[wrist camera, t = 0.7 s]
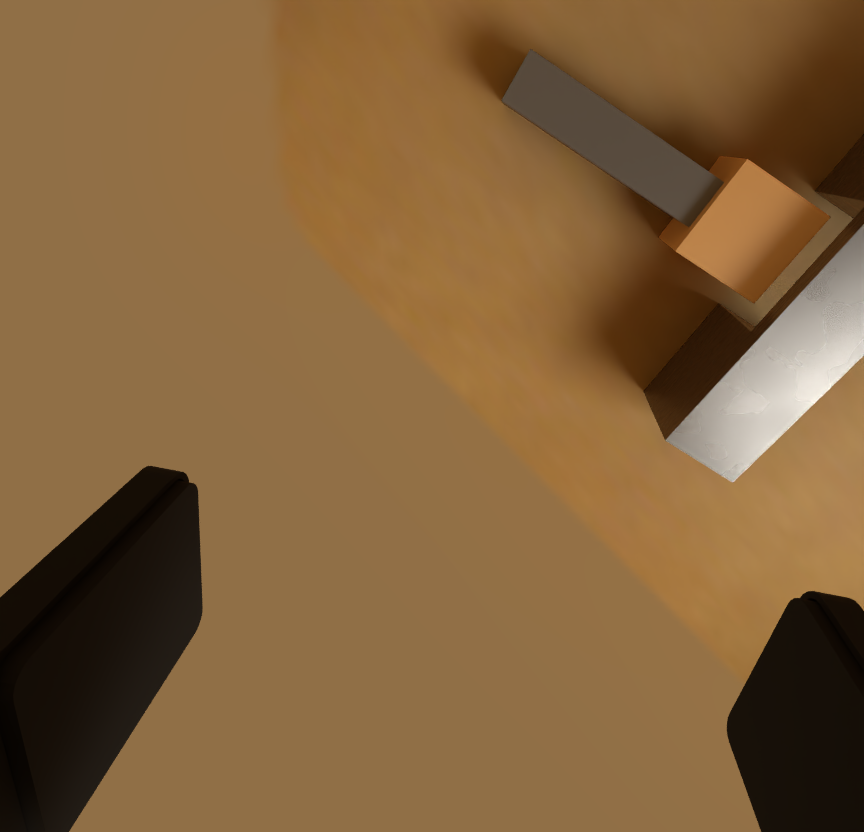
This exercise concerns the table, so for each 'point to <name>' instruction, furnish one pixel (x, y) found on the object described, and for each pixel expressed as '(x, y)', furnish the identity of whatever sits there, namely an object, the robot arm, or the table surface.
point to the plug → (676, 182)
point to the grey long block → (770, 350)
